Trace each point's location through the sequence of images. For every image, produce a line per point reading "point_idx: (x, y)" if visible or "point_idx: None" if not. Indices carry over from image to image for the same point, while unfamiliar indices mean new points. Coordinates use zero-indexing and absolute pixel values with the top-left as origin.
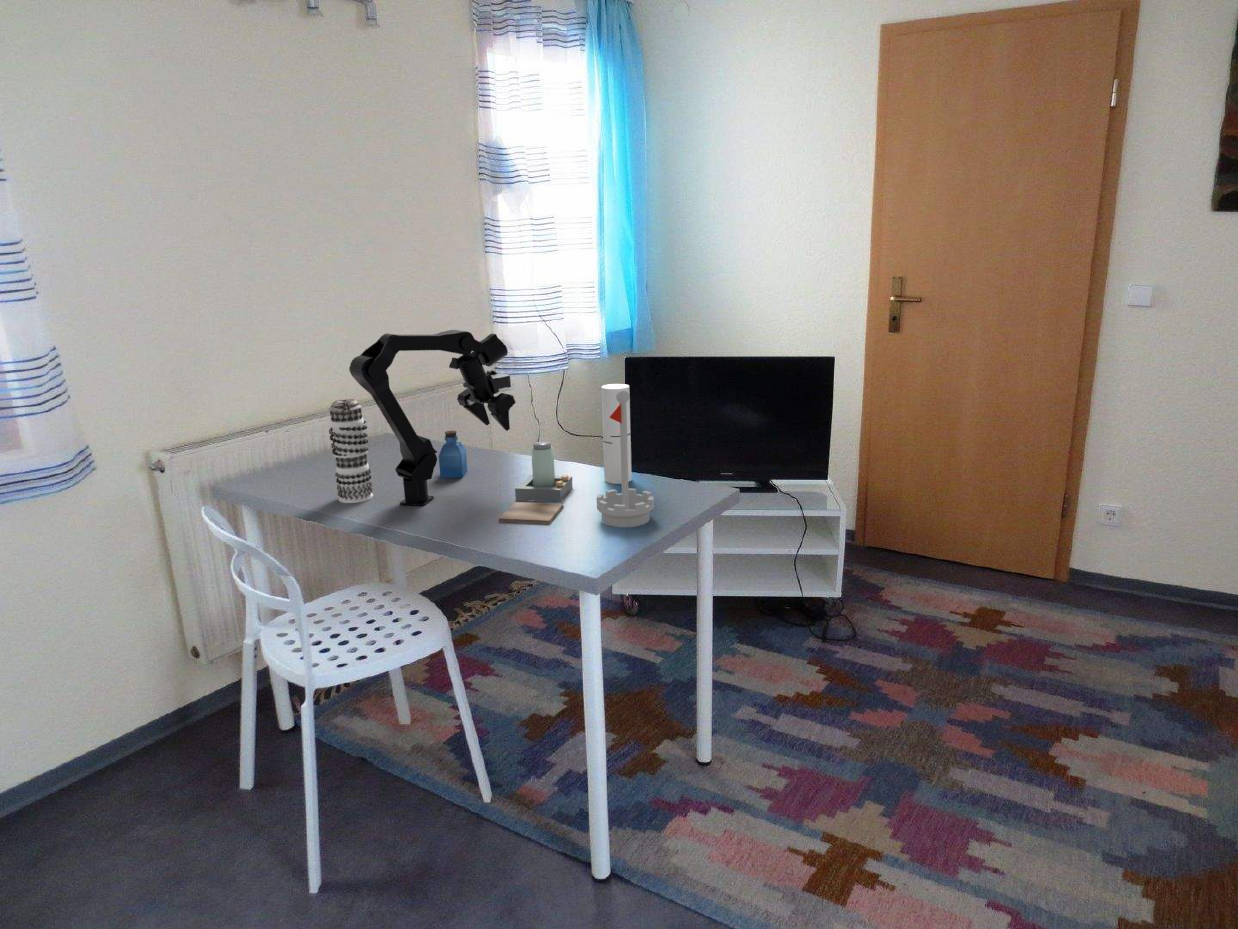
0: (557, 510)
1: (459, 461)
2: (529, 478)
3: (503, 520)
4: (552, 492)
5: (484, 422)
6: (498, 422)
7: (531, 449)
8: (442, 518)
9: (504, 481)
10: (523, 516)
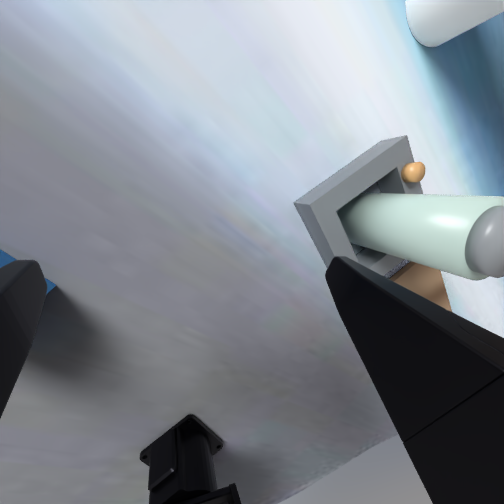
0: (441, 278)
1: None
2: (331, 225)
3: None
4: None
5: (33, 329)
6: (378, 379)
7: (465, 277)
8: (305, 428)
9: (204, 220)
10: None
